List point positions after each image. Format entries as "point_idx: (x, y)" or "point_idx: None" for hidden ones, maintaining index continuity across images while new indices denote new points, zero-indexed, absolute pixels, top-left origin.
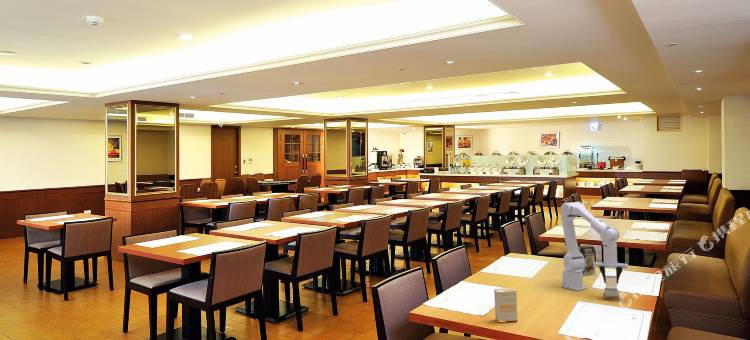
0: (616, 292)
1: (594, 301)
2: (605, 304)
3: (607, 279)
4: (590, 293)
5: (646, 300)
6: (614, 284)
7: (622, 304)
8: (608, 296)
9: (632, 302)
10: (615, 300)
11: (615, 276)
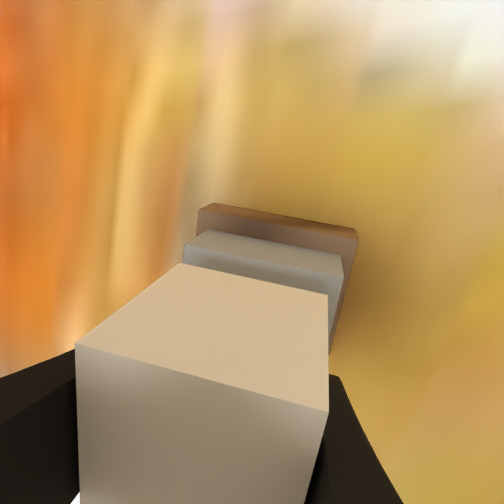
0: (209, 244)
1: (483, 173)
2: (391, 54)
3: (292, 369)
4: (414, 449)
5: (14, 246)
6: (189, 290)
7: (208, 87)
8: (309, 231)
9: (113, 175)
10: (248, 210)
11: (89, 488)
